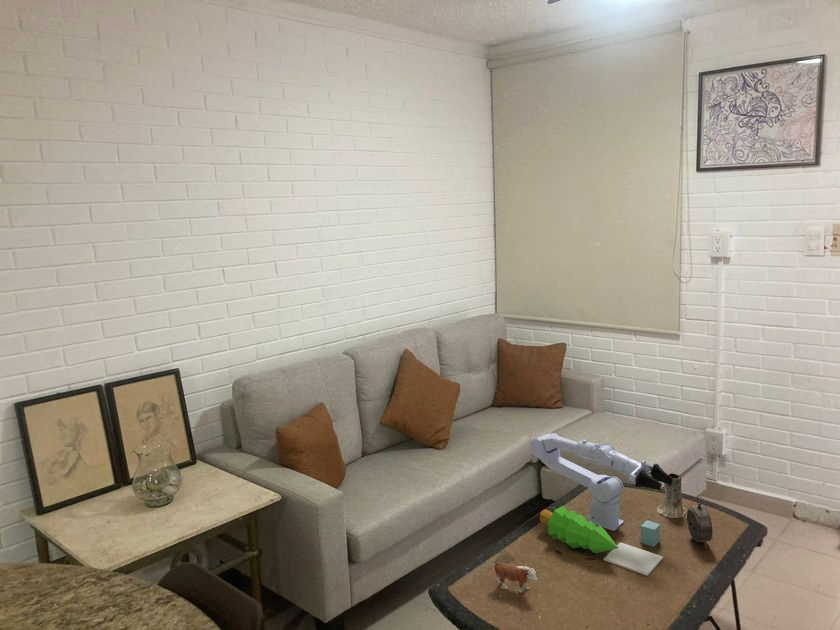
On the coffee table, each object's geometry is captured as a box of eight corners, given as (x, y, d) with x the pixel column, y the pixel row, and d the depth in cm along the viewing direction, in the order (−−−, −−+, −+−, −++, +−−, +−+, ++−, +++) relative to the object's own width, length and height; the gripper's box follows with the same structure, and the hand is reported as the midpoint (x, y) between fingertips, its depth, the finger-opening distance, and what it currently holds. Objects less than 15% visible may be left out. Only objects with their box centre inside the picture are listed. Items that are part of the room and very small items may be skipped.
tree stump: (658, 517, 232) (659, 481, 230) (655, 504, 242) (657, 469, 239) (688, 519, 230) (690, 483, 227) (685, 506, 239) (686, 471, 237)
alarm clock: (712, 551, 210) (715, 503, 207) (695, 551, 210) (697, 503, 207) (699, 533, 221) (701, 487, 218) (683, 533, 221) (684, 487, 218)
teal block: (640, 542, 217) (641, 525, 216) (646, 537, 220) (646, 520, 219) (654, 547, 214) (654, 530, 213) (659, 541, 217) (660, 524, 216)
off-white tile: (603, 560, 207) (603, 558, 207) (620, 544, 216) (620, 542, 216) (647, 576, 198) (647, 574, 198) (663, 558, 207) (663, 556, 207)
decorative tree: (549, 493, 227) (624, 522, 203) (558, 517, 231) (633, 549, 208) (528, 515, 221) (602, 548, 198) (538, 540, 226) (612, 575, 202)
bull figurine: (535, 600, 189) (535, 573, 188) (492, 586, 196) (492, 561, 195) (541, 591, 193) (541, 566, 191) (499, 579, 200) (498, 554, 198)
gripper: (619, 459, 214) (658, 477, 205) (641, 450, 224) (679, 468, 215) (614, 479, 216) (653, 498, 206) (636, 470, 226) (674, 487, 216)
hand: (666, 484), depth 211 cm, fingers open, 7 cm apart
